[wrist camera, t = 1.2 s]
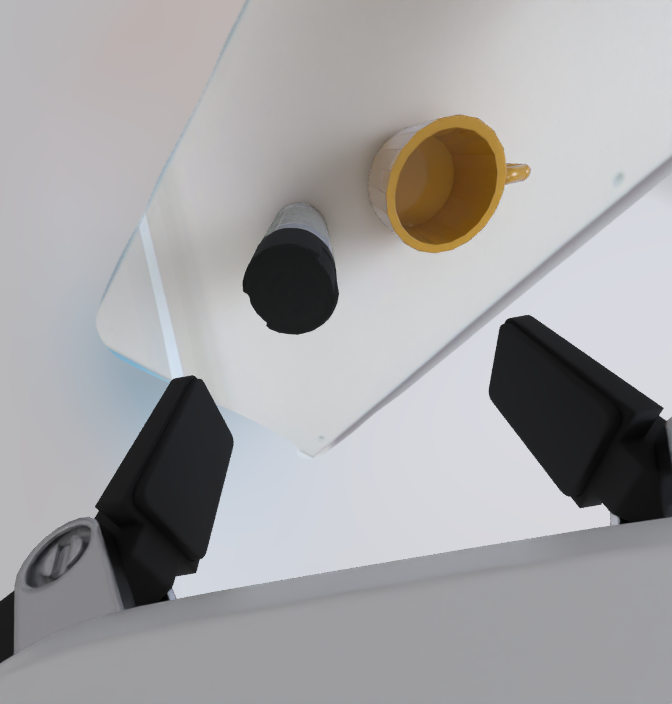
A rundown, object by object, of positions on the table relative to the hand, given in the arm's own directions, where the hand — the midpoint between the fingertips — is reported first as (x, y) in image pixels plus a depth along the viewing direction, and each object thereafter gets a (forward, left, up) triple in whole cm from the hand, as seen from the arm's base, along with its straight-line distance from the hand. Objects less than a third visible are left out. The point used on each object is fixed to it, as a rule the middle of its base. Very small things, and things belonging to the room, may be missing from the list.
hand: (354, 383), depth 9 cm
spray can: (+3, -1, -32) cm, 32 cm away
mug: (-10, +8, -31) cm, 34 cm away
